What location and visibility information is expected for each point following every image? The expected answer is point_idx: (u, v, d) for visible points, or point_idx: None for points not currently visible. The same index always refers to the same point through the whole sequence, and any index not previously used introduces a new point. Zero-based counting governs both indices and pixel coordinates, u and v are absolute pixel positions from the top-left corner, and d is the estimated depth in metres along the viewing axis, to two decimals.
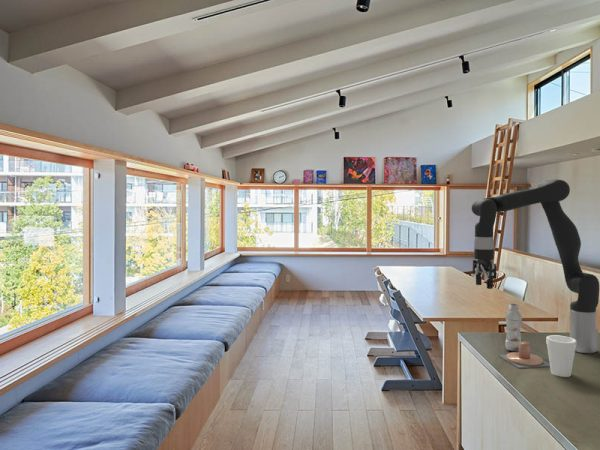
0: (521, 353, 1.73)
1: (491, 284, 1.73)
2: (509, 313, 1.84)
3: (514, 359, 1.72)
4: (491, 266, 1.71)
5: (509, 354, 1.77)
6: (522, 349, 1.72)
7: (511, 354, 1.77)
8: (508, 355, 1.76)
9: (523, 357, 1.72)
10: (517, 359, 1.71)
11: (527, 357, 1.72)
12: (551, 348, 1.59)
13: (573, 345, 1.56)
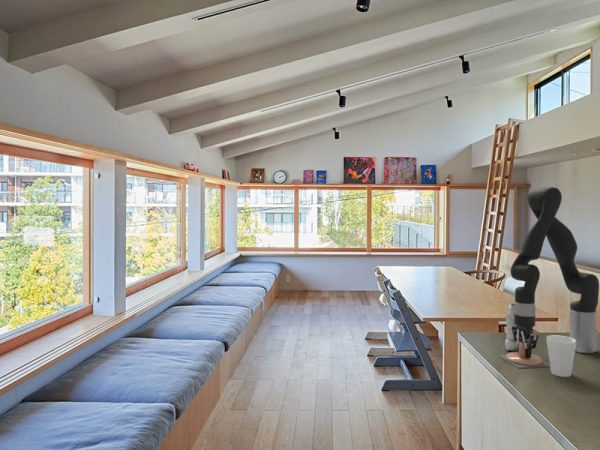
0: (521, 353, 1.73)
1: (530, 353, 1.70)
2: (509, 313, 1.84)
3: (514, 359, 1.72)
4: (533, 338, 1.67)
5: (509, 354, 1.77)
6: (522, 349, 1.72)
7: (511, 354, 1.77)
8: (508, 355, 1.76)
9: (523, 357, 1.72)
10: (517, 359, 1.71)
11: None
12: (551, 348, 1.59)
13: (573, 345, 1.56)
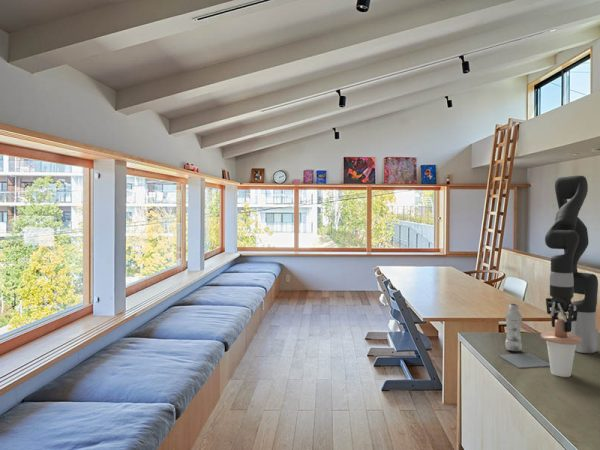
0: (557, 331, 1.59)
1: (570, 327, 1.55)
2: (509, 313, 1.84)
3: (550, 338, 1.58)
4: (572, 308, 1.52)
5: (544, 333, 1.63)
6: (558, 327, 1.58)
7: (546, 333, 1.63)
8: (543, 334, 1.62)
9: (560, 336, 1.58)
10: (553, 338, 1.57)
11: (564, 335, 1.58)
12: (551, 348, 1.59)
13: (573, 345, 1.56)
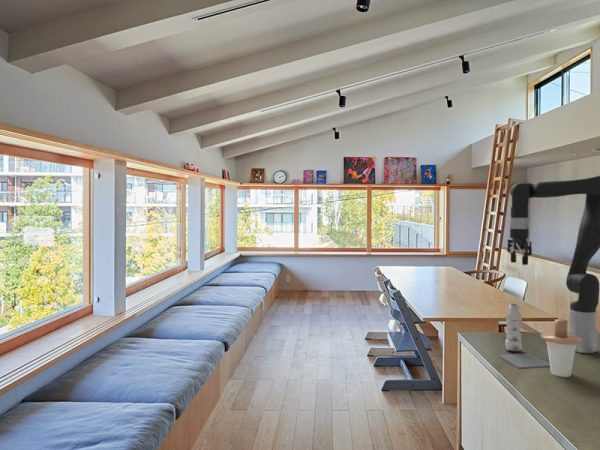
0: (557, 331, 1.59)
1: (526, 260, 1.90)
2: (509, 313, 1.84)
3: (550, 338, 1.58)
4: (527, 244, 1.88)
5: (544, 333, 1.63)
6: (558, 327, 1.58)
7: (546, 333, 1.63)
8: (543, 334, 1.62)
9: (560, 336, 1.58)
10: (553, 338, 1.57)
11: (564, 336, 1.58)
12: (551, 348, 1.59)
13: (573, 345, 1.56)
